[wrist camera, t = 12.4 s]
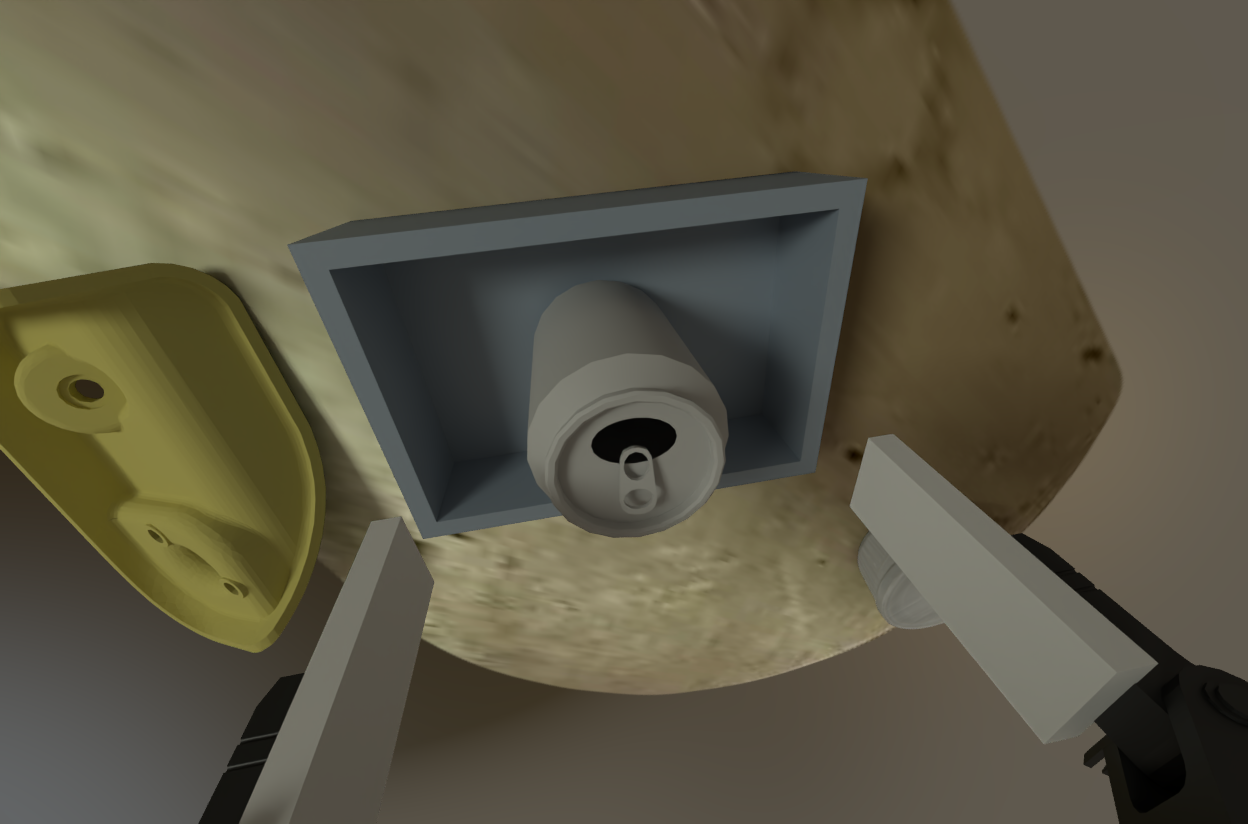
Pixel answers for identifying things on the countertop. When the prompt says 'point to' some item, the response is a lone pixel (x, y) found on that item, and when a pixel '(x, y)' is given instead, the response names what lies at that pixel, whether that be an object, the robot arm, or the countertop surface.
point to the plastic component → (167, 442)
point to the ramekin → (893, 588)
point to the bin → (552, 264)
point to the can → (621, 414)
